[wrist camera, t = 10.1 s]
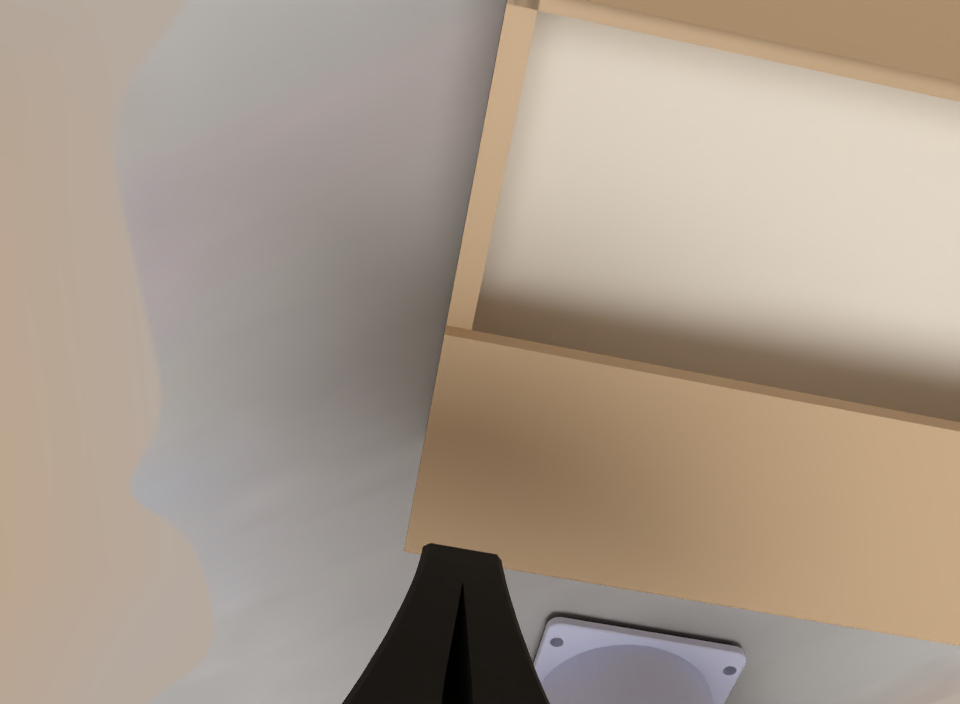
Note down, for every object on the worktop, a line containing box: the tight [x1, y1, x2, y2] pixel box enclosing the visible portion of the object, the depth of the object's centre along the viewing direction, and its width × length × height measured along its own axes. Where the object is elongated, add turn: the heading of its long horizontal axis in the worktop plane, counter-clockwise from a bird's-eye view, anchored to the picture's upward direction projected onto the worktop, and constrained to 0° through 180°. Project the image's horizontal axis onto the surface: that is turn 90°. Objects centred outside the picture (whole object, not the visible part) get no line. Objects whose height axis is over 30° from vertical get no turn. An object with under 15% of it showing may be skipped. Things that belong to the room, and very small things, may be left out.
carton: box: [404, 0, 960, 646], centre depth 18 cm, size 14×20×6 cm
